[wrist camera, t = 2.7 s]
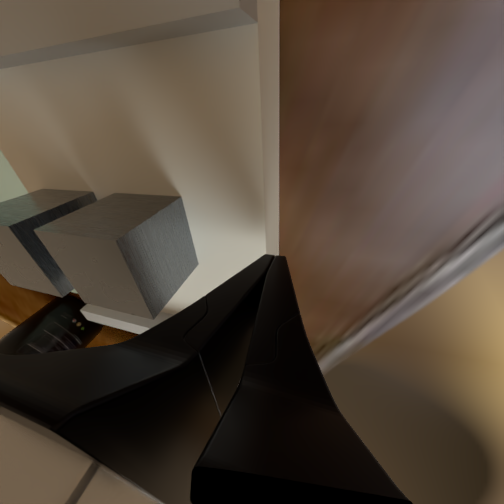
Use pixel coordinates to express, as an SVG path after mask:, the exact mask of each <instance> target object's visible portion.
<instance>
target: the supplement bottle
mask: <svg viewBox="0 0 504 504" xmlns="http://www.w3.org/2000/svg"><path fill="white" fill-rule="evenodd" d="M85 305H86V304H85V303H83V302H82V301H80V300H78V299H76V298H73V297H70V296H64V297H57V298H55V299H54V300H52V301H51V302H49V303H48V304H47V305H45V306H44V307H43V308H41V309H40V310H39V311H37V312H36V313H34V314H33V315H32V316H30V317H29V318H28V319H26V320H25V321H24V322H22V323H21V324H20V325H18V326H17V327H16V328H14V329H13V330H12V331H10V332H9V333H8V334H6V335H5V336H4V337H2V338H1V339H0V354H4V355H31V354H41V353H49V352H57V351H66V350H74V349H82V348H85V347H86V346H87V345H88V344H89V343H90V342H91V341H92V340H93V339H94V338H95V337H96V336H97V335H98V334H99V333H100V331H101V330H102V327H103V324H100V323H96V322H93V321H89V320H87V319H86V318H85V316H84V315H83V314H82V312H81V311H80V310H81V309H82V308H83V307H84V306H85Z"/></svg>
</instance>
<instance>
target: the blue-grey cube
mask: <svg viewBox="0 0 504 504" xmlns="http://www.w3.org/2000/svg"><path fill="white" fill-rule="evenodd" d="M34 232H35V233H36V235H37V236H38V237H39V239H40V240H41V242H42V243H43V244H44V246H45V247H46V249H47V250H48V252H49V253H50V254H51V256H52V257H53V259H54V260H55V261H56V263H57V264H58V266H59V267H60V269H61V270H62V271H63V273H64V274H65V276H66V277H67V278H68V280H69V281H70V283H71V284H72V286H73V287H74V288H75V290H76V291H77V293H78V294H79V295H80V297H81V298H82V300H83V301H84V303H87V304H91V305H95V306H99V307H103V308H107V309H111V310H115V311H119V312H123V313H127V314H131V315H135V316H139V317H144V318H148V319H152V320H154V319H155V318H156V316H157V315H158V314H159V313H160V312H161V310H162V309H163V308H164V307H165V305H166V304H167V303H168V302H169V300H170V299H171V298H172V297H173V295H174V294H175V293H176V292H177V290H178V289H179V288H180V287H181V286H182V284H183V283H184V282H185V281H186V279H187V278H188V277H189V276H190V274H191V273H192V272H193V271H194V269H195V268H196V267H197V266H198V264H199V263H198V260H197V256H196V252H195V248H194V244H193V240H192V236H191V232H190V228H189V224H188V220H187V216H186V212H185V208H184V204H183V200H182V197H181V196H163V195H145V194H127V193H113V194H111V195H109V196H107V197H105V198H102V199H100V200H98V201H96V202H94V203H91V204H89V205H87V206H85V207H83V208H80V209H78V210H76V211H74V212H72V213H69V214H67V215H65V216H63V217H61V218H58V219H56V220H54V221H52V222H50V223H47V224H45V225H43V226H41V227H39V228H36V229H34Z"/></svg>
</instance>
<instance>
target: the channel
mask: <svg viewBox="0 0 504 504" xmlns="http://www.w3.org/2000/svg"><path fill="white" fill-rule="evenodd" d="M279 15H280V0H0V150H1V151H2V153H3V155H4V156H5V158H6V159H7V161H8V162H9V164H10V165H11V167H12V168H13V170H14V171H15V173H16V175H17V176H18V178H19V179H20V181H21V182H22V184H23V185H24V187H25V188H26V190H27V191H28V193H31V192H34V191H37V190H40V189H55V190H73V191H91V192H94V194H95V196H96V199H97V201H98V200H100V199H102V198H105V197H107V196H109V195H111V194H113V193H127V194H145V195H163V196H181V197H182V200H183V204H184V208H185V212H186V216H187V220H188V224H189V228H190V232H191V236H192V240H193V244H194V248H195V252H196V256H197V260H198V263H199V264H198V266H197V267H196V268H195V269H194V271H193V272H192V273H191V274H190V276H189V277H188V278H187V279H186V281H185V282H184V283H183V284H182V286H181V287H180V288H179V289H178V290H177V292H176V293H175V294H174V295H173V297H172V298H171V299H170V300H169V302H168V303H167V304H166V305H165V307H164V308H163V309H162V310H161V312H160V313H159V314H158V315H157V316H156V318H155V319H154V320H152V319H148V318H144V317H139V316H135V315H131V314H127V313H123V312H119V311H115V310H111V309H107V308H103V307H99V306H95V305H91V304H86V305H85V306H84V307H83V308H82V309H81V310H80V311H81V312H82V314H83V315H84V316H85V318H86V319H87V320H89V321H93V322H96V323H100V324H104V325H107V326H111V327H115V328H118V329H122V330H126V331H129V332H133V333H136V334H141V333H143V332H145V331H147V330H148V329H150V328H152V327H154V326H155V325H157V324H159V323H161V322H163V321H164V320H166V319H168V318H170V317H171V316H173V315H175V314H176V313H178V312H180V311H182V310H183V309H185V308H186V307H188V306H190V305H191V304H193V303H194V302H196V301H197V300H199V299H200V298H202V297H203V296H206V294H208V293H209V292H210V291H212V290H213V289H215V288H216V287H218V286H219V285H221V284H222V283H224V282H225V281H226V280H228V279H229V278H231V277H232V276H234V275H235V274H237V273H238V272H240V271H241V270H243V269H244V268H245V267H247V266H248V265H250V264H251V263H253V262H254V261H256V260H257V259H259V258H260V257H261V256H263V255H264V254H270V255H275V256H276V255H278V256H279Z"/></svg>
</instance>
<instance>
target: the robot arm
mask: <svg viewBox="0 0 504 504" xmlns="http://www.w3.org/2000/svg"><path fill="white" fill-rule="evenodd" d="M240 379H241V380H240ZM239 382H240V383H239ZM238 384H239V385H238ZM0 504H412V502H411V501H410V500H409V499H407V497H405V495H404V494H403V493H402V492H401V491H400V490H399V488H398V487H397V486H396V485H395V484H394V482H393V481H392V480H391V478H390V477H389V476H388V474H387V473H386V472H385V470H384V469H383V468H382V466H381V465H380V464H379V463H378V461H377V460H376V459H375V457H374V456H373V455H372V453H371V452H370V451H369V449H368V448H367V447H366V446H365V444H364V443H363V442H362V440H361V439H360V438H359V436H358V435H357V434H356V432H355V431H354V430H353V428H352V427H351V426H350V425H349V423H348V422H347V421H346V419H345V418H344V417H343V415H342V414H341V412H340V410H339V409H338V407H337V405H336V403H335V401H334V399H333V397H332V395H331V393H330V391H329V389H328V386H327V384H326V381H325V379H324V377H323V374H322V372H321V370H320V367H319V365H318V363H317V360H316V358H315V356H314V353H313V351H312V349H311V346H310V343H309V341H308V338H307V335H306V332H305V329H304V325H303V322H302V318H301V315H300V311H299V307H298V303H297V299H296V295H295V291H294V287H293V283H292V279H291V275H290V271H289V267H288V264H287V260H286V257H285V256H278V255H276V256H275V255H270V254H264V255H263V256H261V257H260V258H259V259H257V260H256V261H254V262H253V263H251V264H250V265H248V266H247V267H245V268H244V269H243V270H241V271H240V272H238V273H237V274H235V275H234V276H232V277H231V278H229V279H228V280H226V281H225V282H224V283H222V284H221V285H219V286H218V287H216V288H215V289H213V290H212V291H210V292H209V293H208V294H206V296H203V297H202V298H200V299H199V300H197V301H196V302H194V303H193V304H191V305H190V306H188V307H186V308H185V309H183V310H182V311H180V312H178V313H176V314H175V315H173V316H171V317H170V318H168V319H166V320H164V321H163V322H161V323H159V324H157V325H155V326H154V327H152V328H150V329H148V330H147V331H145V332H143V333H141V334H139V335H138V336H136V337H134V338H132V339H129V340H127V341H125V342H121V343H118V344H114V345H108V346H99V347H91V348H82V349H74V350H66V351H57V352H49V353H41V354H31V355H4V354H0Z"/></svg>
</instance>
